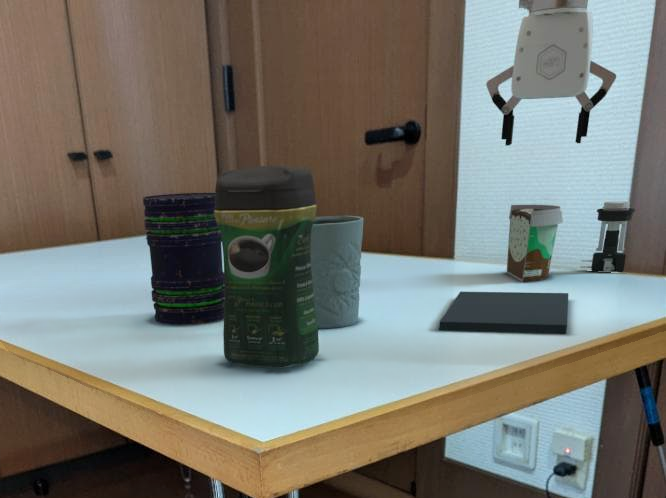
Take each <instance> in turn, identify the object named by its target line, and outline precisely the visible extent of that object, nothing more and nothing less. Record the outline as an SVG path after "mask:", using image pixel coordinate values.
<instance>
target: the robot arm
mask: <svg viewBox="0 0 666 498" xmlns="http://www.w3.org/2000/svg"><path fill="white" fill-rule="evenodd" d="M588 3H589V0H518V9H524V10H526V11H528V16H523V17H522V19H521V22H520V27H519V31H518V36H517V41H516V46H515V53H514V60H513V65H512V66H510V67H508V68H507V69H505V70H503V71H502V72H500V73H498V74H496V75H495V76H494V77H492V78H490V79H488V80H487V81H486V84H485V85H486V89H487V91H488V93H489V96H490V98H491V101H492V103H493V104H494V105H495V107H496V108H497V109H498V110H499V111H500V113H502V115H503V117H502V127H501V140H505V146H508V147H509V146H511V145H512V143H513V136H514V135H513V134H514V124H515V115H514V109H515V108H516V107H517V106H518V105H519V104H520V102H521V101H522V100H539V99H560V98H573V97H575V98H576V100H577V102H578V103H579V105H580V106H581V107H580V112H578V117H577V119H578V120H577V126H576V133H575V140H574V141H575V143H576V144H581V143H582V138H586V137H588V130H589V129H588V128H589V121H590V116H591V115H590V114H591V110H593V109H594V108H595V107H596V106H597V105H598V104H599V103H600V102H601V101H602V100H603V99H604V98H605V97H606V95H607V94H608V92H609V91H610V89H611V87H612V86H613V84H614V83H615V81H616V79H617V74H616V73H615V72H613V71H611V70H609V69H607V68H606V67H604V66H602V65H600V64H598V63H596V62H595V61H592V49H593V37H594V36H593V35H594V25H593V24H594V22H593V21H594V20H593V12H592V11H588V5H589V4H588ZM590 74H591V75H594V76H595V77H597V78H599V79H601V81H602V84H601V85H600V87H599V88H598V90H597V92H595V93H594V94H593V95H592V96H591V97H590V96H588V95H587V93H586V90H587V88H588V85H589V79H590ZM510 79H511V89H510V91H511V97H509V99H508V100H507V101H506V100H505V99H504V97H503V96H501V92H500V91H499V90H500V89H499V87H500V85H502V84H503V83H506V82H507V81H509V80H510Z"/></svg>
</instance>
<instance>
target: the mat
mask: <svg viewBox="0 0 666 498" xmlns="http://www.w3.org/2000/svg"><path fill="white" fill-rule="evenodd" d="M568 313H569V293H568V292H519V291H518V292H516V291H512V292H511V291H509V292H508V291H460V292H459V293H458V294H457V296H455V299H454V300H453V301H452V303H451V304H450V306H449V307H448V308H447V311H445V313H444V315H443V316H442V317H441V319H440V320H439V324H438V330H439V331H453V332H454V331H455V332H456V331H457V332H458V331H459V332H485V333H486V332H488V333H489V332H490V333H491V332H492V333H521V334H522V333H523V334H527V333H528V334H553V335H554V334H555V335H557V334H559V335H566V334H567V329H568V315H569V314H568Z"/></svg>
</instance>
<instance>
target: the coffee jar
mask: <svg viewBox="0 0 666 498" xmlns="http://www.w3.org/2000/svg"><path fill="white" fill-rule="evenodd" d="M214 191H215V192H214V193H215V211H214V213H215V219H216V222H217V225H218V228H219V230H220V234H221V239H222V242H221V247H222V258H223V272H224V319H223V329H222V330H223V332H222V333H223V337H222V338H223V356H224V358H225V359H226V361H228V363H230V364H234V365H240V366H244V367H254V368H263V369H270V368H271V369H279V368H283V369H284V368H289V367H292V366H298V365H299V366H304V365H307V364H309V363H310V362H312V361H313V360H315V358H316V357H317V356H318V354H319V351H320V345H319V344H320V343H319V329H318V327H317V319H316V311H315V302H314V293H313V282H312V271H311V257H310V241H311V230H312V226H313V223H314V220H315V217H317V211H318V210H317V208H318V207H317V206H318V205H317V199H316V192H315V183H314V179H313V175H312V172H311V170H310V169H309V168H307V167H298V166H297V167H296V166H287V165H259V166H258V165H257V166H248V167H242V168H237V169H231V170H226V171H221V172H220V173H219V174H218V176H217V178H216V182H215V189H214Z"/></svg>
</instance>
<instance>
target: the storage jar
mask: <svg viewBox="0 0 666 498" xmlns="http://www.w3.org/2000/svg"><path fill="white" fill-rule="evenodd" d="M142 204H143V206H144V209H143V215H144V218H146V219H144V220H143V222H144V229H145V230H146V233H145V234H146V238H145V240H146V243H147V246H148V247H149V256H150V265H151V266H150V267H151V277H150V285H151V289H152V290H151V291H150V292H151V293H150V294H151V301H152V302H154V303H153V310H154V311H155V312H154V313H155V314H154V321H155V323H157V324H162V325H167V326H198V325H205V324H212V323H217V322H220V321H224V265H223V249H222V239H221V234H220V230H219V228H218V225H217V222H216V219H215V213H214V211H215V192H187V193H185V192H184V193H168V194H167V193H166V194H156V195H147V196H144V197H142Z"/></svg>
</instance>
